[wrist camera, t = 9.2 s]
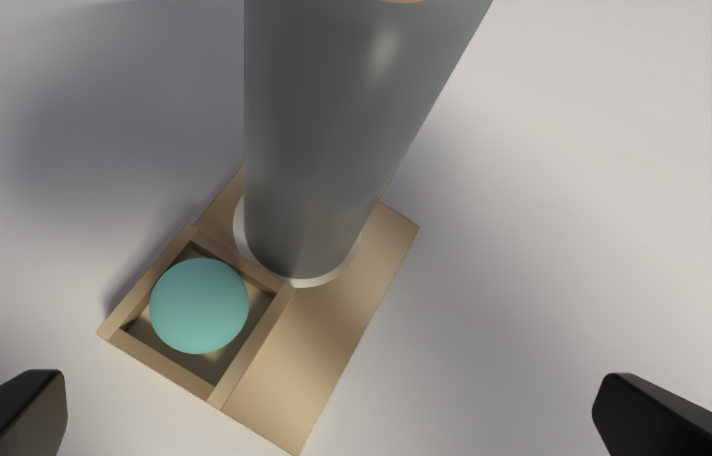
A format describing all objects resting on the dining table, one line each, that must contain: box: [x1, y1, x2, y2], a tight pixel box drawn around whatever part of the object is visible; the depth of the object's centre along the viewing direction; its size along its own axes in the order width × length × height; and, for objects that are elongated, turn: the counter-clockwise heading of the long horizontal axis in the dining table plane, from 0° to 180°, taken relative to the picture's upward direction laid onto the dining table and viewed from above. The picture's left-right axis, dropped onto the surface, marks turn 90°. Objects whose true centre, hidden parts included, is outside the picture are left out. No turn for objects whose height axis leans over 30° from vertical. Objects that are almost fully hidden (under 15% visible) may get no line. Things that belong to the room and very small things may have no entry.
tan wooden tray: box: [95, 165, 420, 456], centre depth 18 cm, size 10×8×2 cm
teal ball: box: [149, 258, 249, 354], centre depth 16 cm, size 3×3×3 cm
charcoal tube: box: [244, 0, 493, 279], centre depth 13 cm, size 5×5×14 cm
